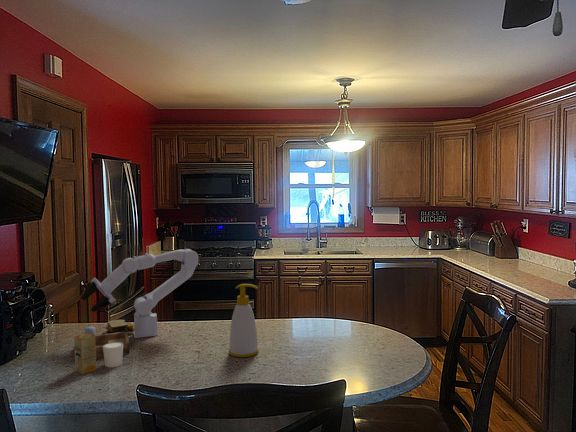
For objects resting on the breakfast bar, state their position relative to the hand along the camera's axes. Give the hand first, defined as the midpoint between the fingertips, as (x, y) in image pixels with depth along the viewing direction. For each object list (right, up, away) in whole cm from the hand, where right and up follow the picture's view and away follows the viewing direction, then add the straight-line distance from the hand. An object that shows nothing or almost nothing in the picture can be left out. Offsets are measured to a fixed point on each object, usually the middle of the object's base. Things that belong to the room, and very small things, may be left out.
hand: (87, 305), depth 186 cm
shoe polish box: (+12, -17, -29) cm, 36 cm away
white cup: (+20, -17, -24) cm, 35 cm away
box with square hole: (+11, -16, -9) cm, 21 cm away
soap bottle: (+65, -16, -14) cm, 69 cm away
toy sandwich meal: (+8, -15, +13) cm, 21 cm away
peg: (+1, -15, +1) cm, 15 cm away
